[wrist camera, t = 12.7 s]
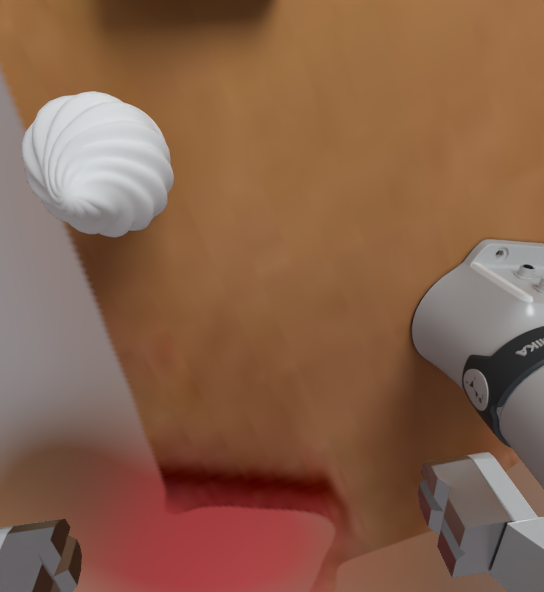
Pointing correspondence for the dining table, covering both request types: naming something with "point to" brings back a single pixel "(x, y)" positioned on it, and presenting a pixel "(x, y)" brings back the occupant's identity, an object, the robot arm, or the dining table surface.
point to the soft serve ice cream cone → (97, 163)
